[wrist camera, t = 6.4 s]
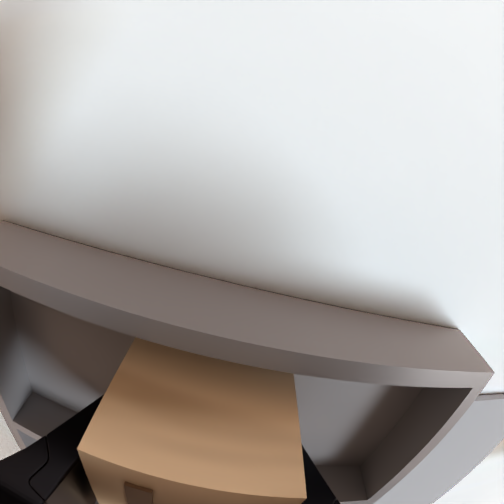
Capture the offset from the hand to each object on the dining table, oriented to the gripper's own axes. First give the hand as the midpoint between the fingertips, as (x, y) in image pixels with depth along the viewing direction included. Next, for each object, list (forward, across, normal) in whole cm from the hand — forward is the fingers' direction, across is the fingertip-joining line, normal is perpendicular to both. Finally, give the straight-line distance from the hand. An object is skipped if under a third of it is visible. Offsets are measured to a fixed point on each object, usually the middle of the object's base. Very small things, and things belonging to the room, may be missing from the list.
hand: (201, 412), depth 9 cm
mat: (+1, -14, +5) cm, 15 cm away
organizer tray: (+1, 0, +8) cm, 8 cm away
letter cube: (+1, 0, 0) cm, 1 cm away
